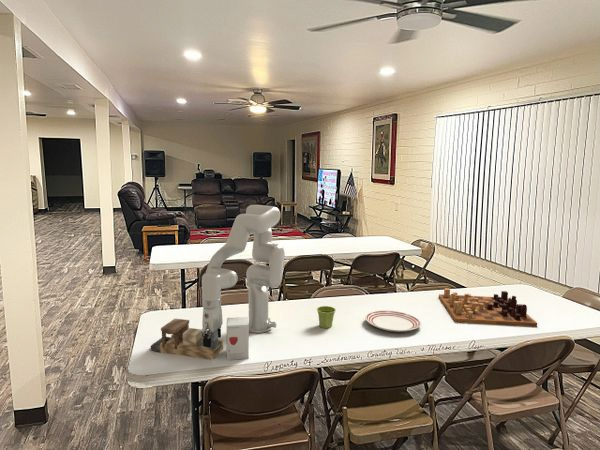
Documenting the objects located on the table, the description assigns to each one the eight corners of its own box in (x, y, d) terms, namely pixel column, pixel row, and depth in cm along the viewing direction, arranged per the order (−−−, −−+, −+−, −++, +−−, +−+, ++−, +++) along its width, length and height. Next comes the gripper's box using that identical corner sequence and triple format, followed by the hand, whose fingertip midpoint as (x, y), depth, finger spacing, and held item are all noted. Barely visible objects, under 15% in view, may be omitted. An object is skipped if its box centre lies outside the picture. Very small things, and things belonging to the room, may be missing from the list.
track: (223, 348, 184) (223, 324, 183) (212, 360, 174) (211, 334, 172) (164, 341, 191) (163, 317, 189) (150, 351, 180) (149, 326, 179)
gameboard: (438, 298, 259) (439, 283, 257) (507, 301, 254) (508, 286, 253) (455, 323, 219) (456, 306, 218) (536, 327, 215) (538, 310, 214)
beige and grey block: (219, 344, 182) (219, 328, 181) (213, 350, 176) (212, 333, 175) (189, 341, 185) (189, 324, 184) (182, 346, 179) (182, 330, 178)
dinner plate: (397, 312, 233) (397, 306, 232) (432, 330, 208) (433, 324, 208) (354, 319, 221) (354, 313, 220) (386, 340, 196) (387, 333, 196)
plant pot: (337, 324, 214) (338, 307, 212) (331, 331, 205) (331, 313, 204) (320, 321, 218) (321, 304, 216) (313, 327, 209) (313, 310, 208)
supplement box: (226, 360, 174) (226, 325, 172) (226, 350, 183) (226, 317, 180) (249, 359, 176) (249, 324, 173) (248, 349, 184) (247, 316, 182)
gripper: (210, 310, 167) (211, 351, 170) (228, 297, 184) (228, 334, 186) (193, 308, 169) (194, 349, 171) (212, 295, 185) (213, 332, 188)
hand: (212, 341), depth 179 cm, fingers open, 9 cm apart
